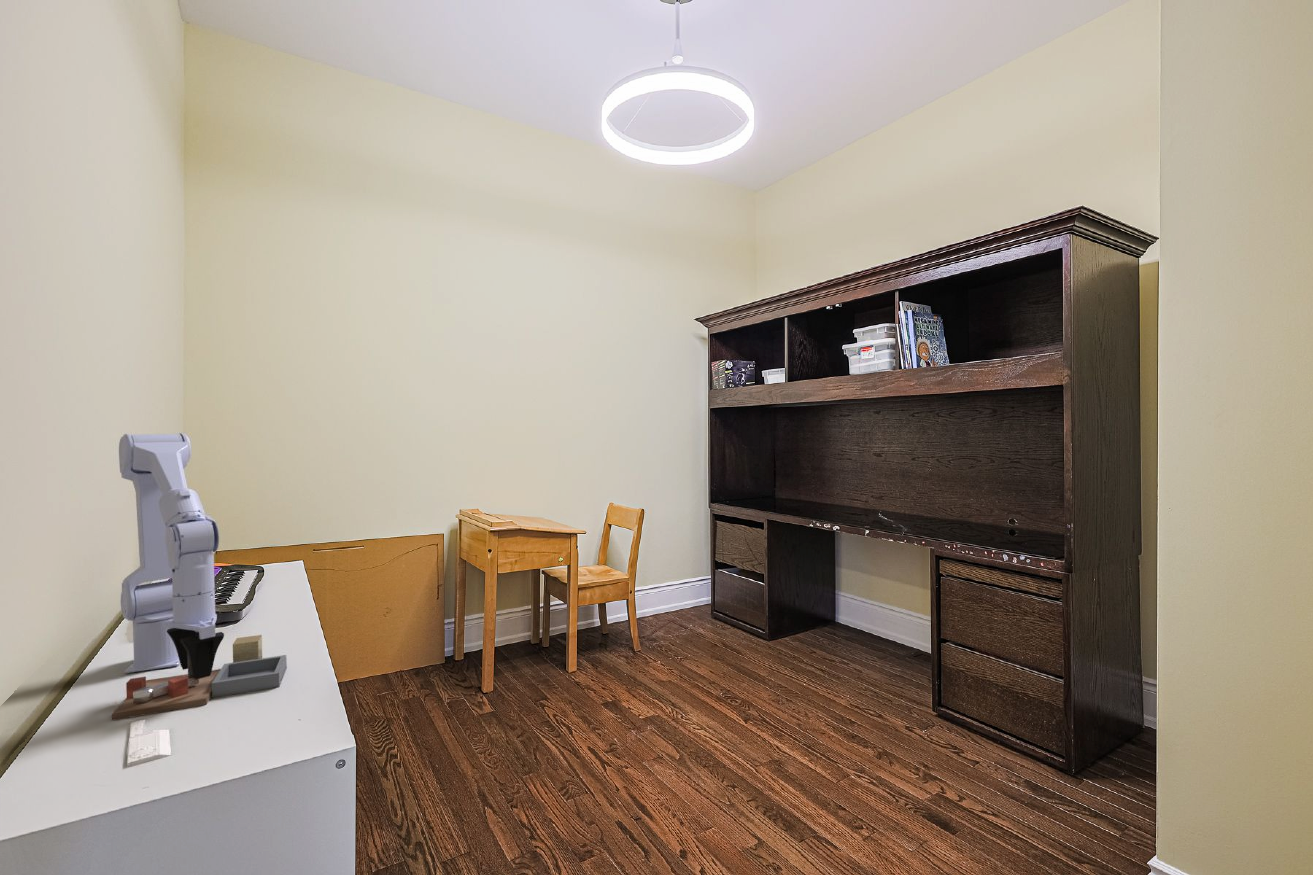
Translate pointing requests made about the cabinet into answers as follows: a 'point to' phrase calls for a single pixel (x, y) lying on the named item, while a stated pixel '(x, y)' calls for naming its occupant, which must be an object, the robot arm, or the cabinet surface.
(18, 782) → the cabinet surface
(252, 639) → the stop block
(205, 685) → the crank base
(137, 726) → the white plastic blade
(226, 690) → the tray
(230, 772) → the cabinet surface
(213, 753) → the cabinet surface
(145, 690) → the crank
